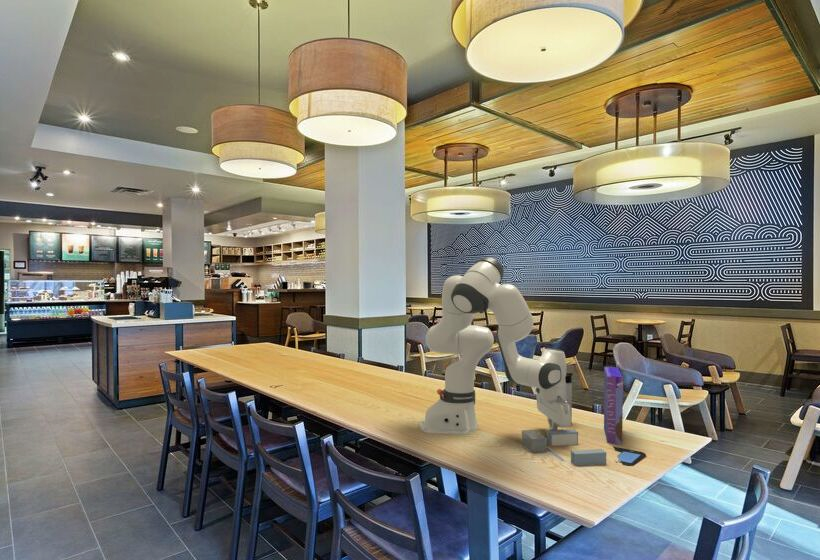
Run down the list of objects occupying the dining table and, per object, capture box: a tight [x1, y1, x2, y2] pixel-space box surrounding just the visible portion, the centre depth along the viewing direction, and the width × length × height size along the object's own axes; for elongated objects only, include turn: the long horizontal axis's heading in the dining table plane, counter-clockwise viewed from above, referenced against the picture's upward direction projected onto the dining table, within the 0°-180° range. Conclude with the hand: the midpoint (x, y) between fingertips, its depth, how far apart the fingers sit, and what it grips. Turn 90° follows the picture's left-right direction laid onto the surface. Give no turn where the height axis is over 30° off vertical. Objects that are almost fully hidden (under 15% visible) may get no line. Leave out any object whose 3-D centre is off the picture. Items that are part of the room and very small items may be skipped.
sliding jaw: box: [546, 428, 579, 446], centre depth 154 cm, size 10×7×5 cm
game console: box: [612, 446, 647, 467], centre depth 142 cm, size 14×13×2 cm
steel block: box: [521, 429, 548, 454], centre depth 148 cm, size 5×8×6 cm, turn 10°
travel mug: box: [565, 372, 574, 425], centre depth 175 cm, size 6×7×20 cm
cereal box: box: [603, 365, 624, 445], centre depth 161 cm, size 17×5×24 cm, turn 160°
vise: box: [547, 447, 607, 466], centre depth 141 cm, size 12×14×5 cm
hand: (553, 431), depth 159 cm, fingers closed
